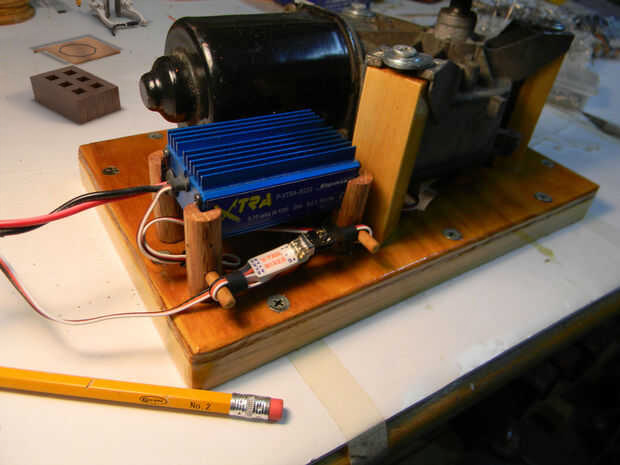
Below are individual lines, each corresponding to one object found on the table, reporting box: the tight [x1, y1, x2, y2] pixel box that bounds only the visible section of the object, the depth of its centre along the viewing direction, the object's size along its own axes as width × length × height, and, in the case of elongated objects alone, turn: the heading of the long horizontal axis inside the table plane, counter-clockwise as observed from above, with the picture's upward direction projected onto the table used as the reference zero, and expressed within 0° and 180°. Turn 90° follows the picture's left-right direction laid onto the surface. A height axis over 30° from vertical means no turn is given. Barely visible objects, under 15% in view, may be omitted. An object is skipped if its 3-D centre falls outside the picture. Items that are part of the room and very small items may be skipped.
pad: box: [33, 36, 121, 66], centre depth 120 cm, size 16×12×1 cm
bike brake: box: [88, 0, 150, 37], centre depth 139 cm, size 14×7×20 cm
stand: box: [29, 64, 122, 125], centre depth 96 cm, size 10×14×6 cm
